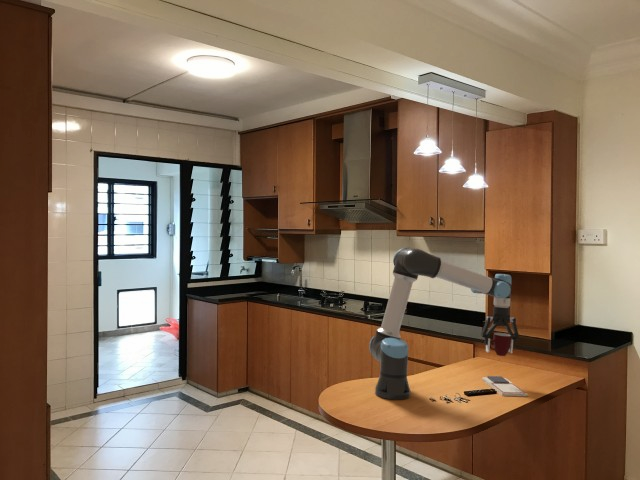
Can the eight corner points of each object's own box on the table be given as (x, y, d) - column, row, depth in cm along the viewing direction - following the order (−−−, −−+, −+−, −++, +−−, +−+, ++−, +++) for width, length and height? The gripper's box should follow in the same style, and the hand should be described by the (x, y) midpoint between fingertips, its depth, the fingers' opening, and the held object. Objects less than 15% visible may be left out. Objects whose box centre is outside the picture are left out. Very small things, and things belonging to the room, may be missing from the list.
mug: (494, 357, 242) (495, 336, 241) (484, 353, 250) (485, 332, 249) (513, 357, 244) (514, 336, 244) (503, 352, 252) (504, 332, 252)
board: (502, 395, 228) (502, 391, 228) (482, 379, 252) (482, 375, 252) (527, 396, 229) (527, 391, 229) (505, 380, 253) (505, 376, 252)
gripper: (480, 306, 242) (478, 353, 243) (528, 308, 243) (525, 354, 244) (475, 304, 250) (472, 349, 250) (521, 306, 251) (519, 351, 251)
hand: (498, 352), depth 247 cm, fingers closed on mug, 11 cm apart
